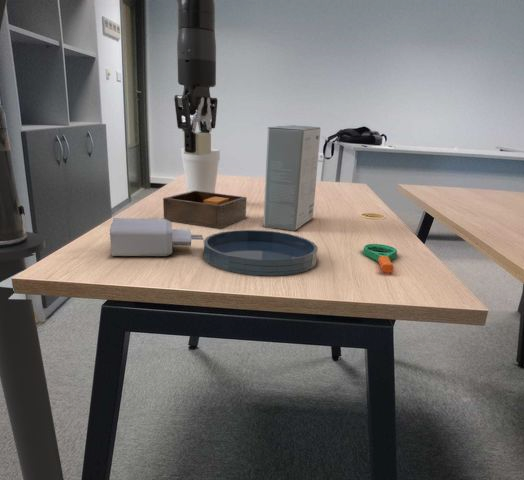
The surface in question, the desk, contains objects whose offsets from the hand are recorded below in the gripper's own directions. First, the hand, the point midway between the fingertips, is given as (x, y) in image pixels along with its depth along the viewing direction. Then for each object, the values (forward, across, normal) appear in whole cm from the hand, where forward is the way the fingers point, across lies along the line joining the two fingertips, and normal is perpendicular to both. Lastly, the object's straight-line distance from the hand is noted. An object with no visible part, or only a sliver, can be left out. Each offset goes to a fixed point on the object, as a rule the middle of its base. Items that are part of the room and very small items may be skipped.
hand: (197, 151), depth 100 cm
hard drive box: (+14, -8, +19) cm, 25 cm away
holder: (+14, 0, +2) cm, 14 cm away
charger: (+14, +27, +7) cm, 32 cm away
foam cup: (+14, -16, -8) cm, 23 cm away
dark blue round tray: (+14, +22, +24) cm, 35 cm away
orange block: (+13, 0, +4) cm, 14 cm away
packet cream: (0, 0, 0) cm, 0 cm away
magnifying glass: (+14, +11, +43) cm, 47 cm away
